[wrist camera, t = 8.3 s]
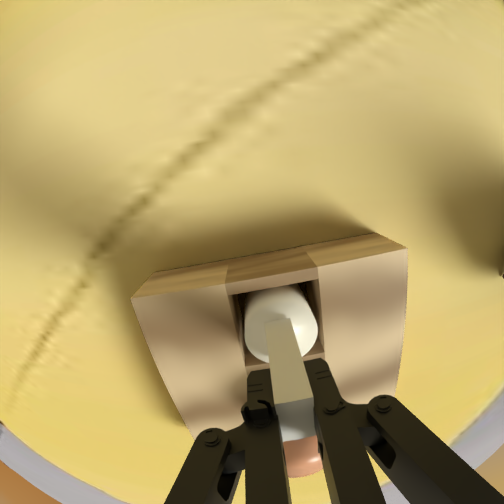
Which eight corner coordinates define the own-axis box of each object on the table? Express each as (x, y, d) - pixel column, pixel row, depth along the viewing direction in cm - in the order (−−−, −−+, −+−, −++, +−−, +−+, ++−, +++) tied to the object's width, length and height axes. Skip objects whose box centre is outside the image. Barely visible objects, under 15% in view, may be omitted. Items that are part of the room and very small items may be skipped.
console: (153, 272, 21) (130, 298, 16) (375, 232, 21) (407, 248, 16) (214, 433, 26) (211, 467, 22) (370, 405, 26) (385, 435, 21)
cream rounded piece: (239, 281, 20) (237, 309, 16) (300, 270, 20) (314, 295, 15) (250, 332, 21) (251, 368, 17) (306, 322, 21) (319, 356, 17)
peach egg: (268, 420, 21) (272, 459, 17) (317, 411, 21) (327, 449, 17) (275, 445, 22) (278, 480, 18) (318, 437, 22) (327, 471, 18)
